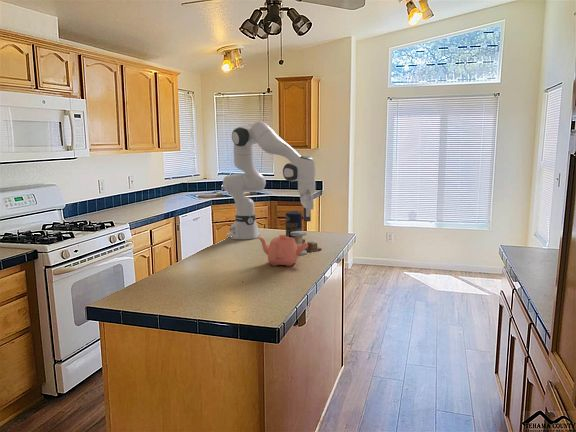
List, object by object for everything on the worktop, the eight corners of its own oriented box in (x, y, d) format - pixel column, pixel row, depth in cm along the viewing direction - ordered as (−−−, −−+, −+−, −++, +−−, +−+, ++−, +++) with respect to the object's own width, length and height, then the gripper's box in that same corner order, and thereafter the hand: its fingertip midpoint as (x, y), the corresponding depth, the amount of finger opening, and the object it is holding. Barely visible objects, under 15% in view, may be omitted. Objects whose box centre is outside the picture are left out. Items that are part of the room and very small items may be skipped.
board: (291, 246, 253) (291, 239, 252) (301, 244, 257) (301, 237, 256) (311, 252, 238) (310, 244, 238) (321, 250, 242) (321, 242, 241)
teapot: (277, 271, 205) (276, 241, 203) (257, 262, 220) (256, 234, 218) (309, 264, 215) (309, 235, 213) (288, 256, 230) (287, 230, 228)
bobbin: (287, 253, 237) (287, 232, 236) (300, 250, 242) (300, 230, 240) (296, 256, 231) (296, 235, 229) (310, 253, 235) (309, 232, 233)
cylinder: (302, 221, 230) (302, 205, 229) (305, 220, 233) (305, 204, 232) (308, 221, 228) (308, 206, 227) (311, 220, 231) (311, 205, 230)
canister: (283, 240, 268) (282, 210, 265) (297, 238, 272) (297, 208, 269) (290, 243, 260) (289, 212, 257) (304, 241, 264) (304, 211, 261)
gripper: (316, 191, 218) (316, 219, 221) (309, 186, 238) (310, 212, 241) (303, 191, 217) (303, 219, 220) (297, 186, 237) (298, 212, 240)
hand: (307, 215), depth 230 cm, fingers closed on cylinder, 4 cm apart
